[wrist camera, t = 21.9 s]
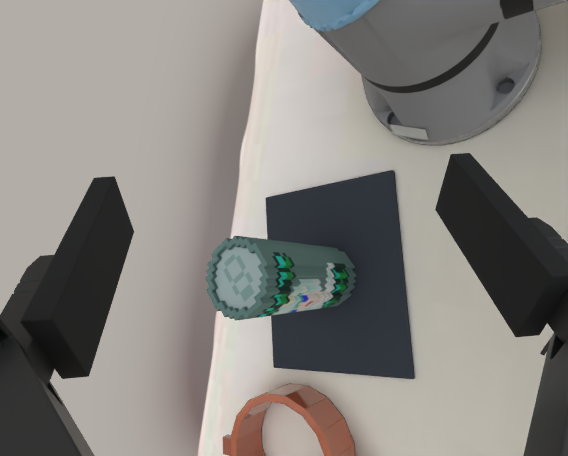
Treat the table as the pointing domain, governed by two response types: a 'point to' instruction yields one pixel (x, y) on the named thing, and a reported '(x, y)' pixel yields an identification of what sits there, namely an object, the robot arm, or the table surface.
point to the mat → (369, 278)
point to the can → (276, 277)
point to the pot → (303, 400)
